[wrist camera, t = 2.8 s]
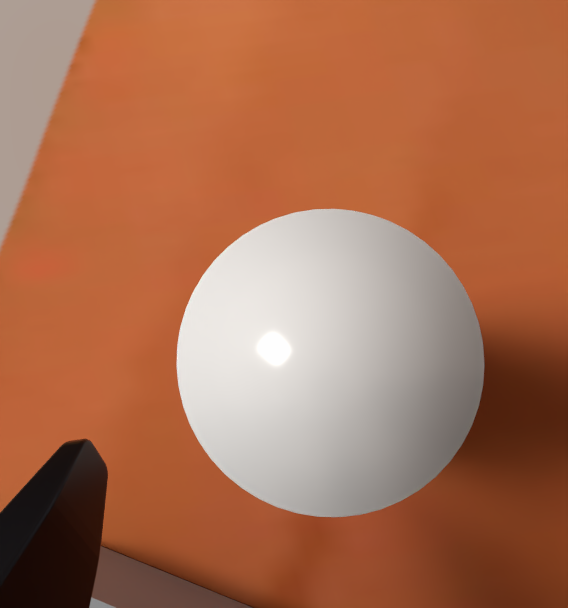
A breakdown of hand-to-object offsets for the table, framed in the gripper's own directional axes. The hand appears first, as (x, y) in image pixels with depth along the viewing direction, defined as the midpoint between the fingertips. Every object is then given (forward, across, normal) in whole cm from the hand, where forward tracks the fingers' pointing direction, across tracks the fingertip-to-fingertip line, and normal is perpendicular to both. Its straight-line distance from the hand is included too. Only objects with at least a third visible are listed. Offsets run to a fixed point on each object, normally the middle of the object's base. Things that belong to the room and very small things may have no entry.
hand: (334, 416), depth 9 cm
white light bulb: (+7, 0, +6) cm, 9 cm away
